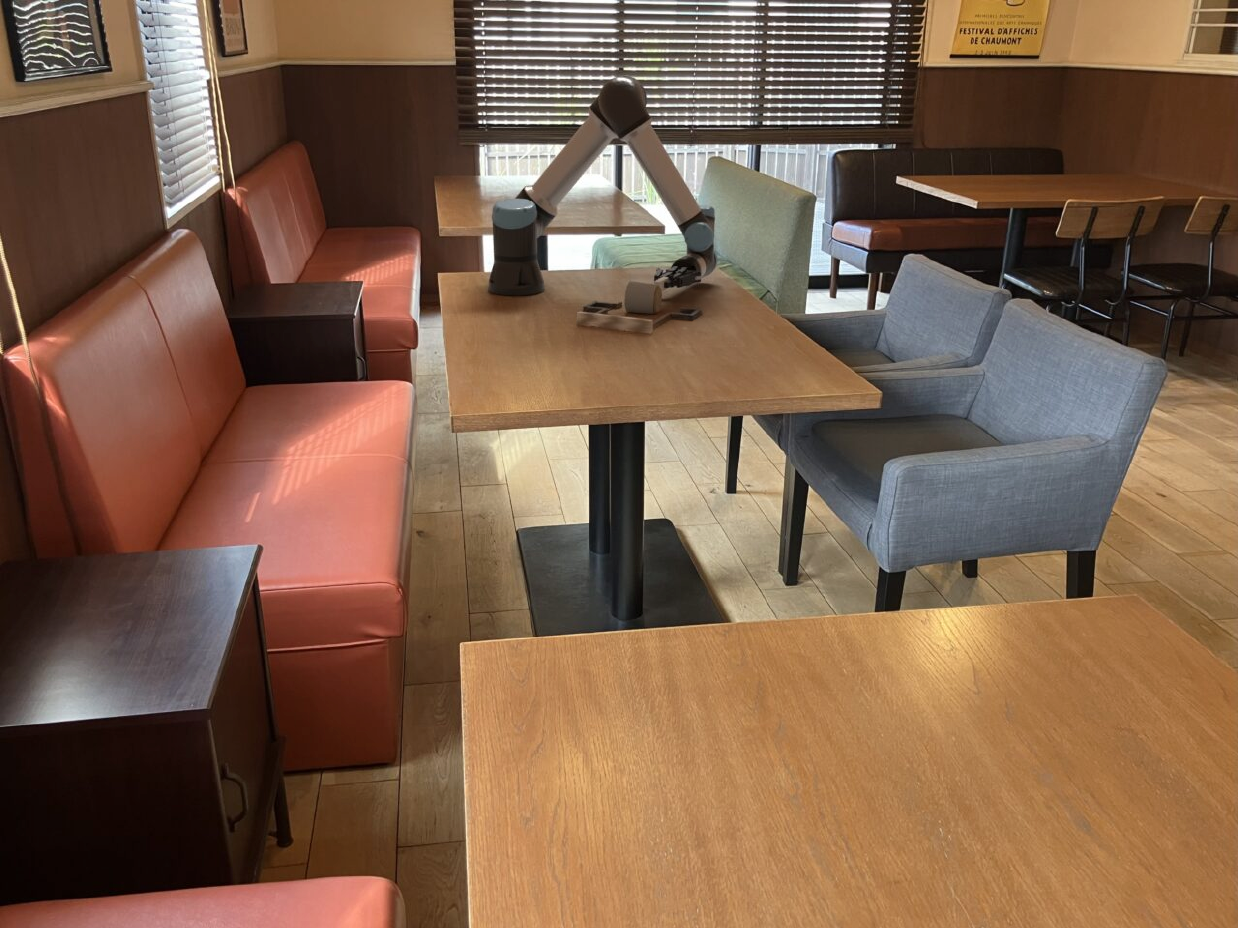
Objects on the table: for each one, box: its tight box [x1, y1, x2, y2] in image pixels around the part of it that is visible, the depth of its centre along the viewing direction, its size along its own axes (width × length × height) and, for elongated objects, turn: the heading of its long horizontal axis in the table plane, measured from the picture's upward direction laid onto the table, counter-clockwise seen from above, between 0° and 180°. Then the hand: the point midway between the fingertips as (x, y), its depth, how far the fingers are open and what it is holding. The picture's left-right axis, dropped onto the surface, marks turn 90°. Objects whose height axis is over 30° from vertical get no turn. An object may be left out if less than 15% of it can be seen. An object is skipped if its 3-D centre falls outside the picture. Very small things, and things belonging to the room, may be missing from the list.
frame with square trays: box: [576, 300, 703, 335], centre depth 251 cm, size 28×23×3 cm
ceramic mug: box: [624, 280, 663, 315], centre depth 257 cm, size 11×8×8 cm
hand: (656, 287), depth 258 cm, fingers closed
